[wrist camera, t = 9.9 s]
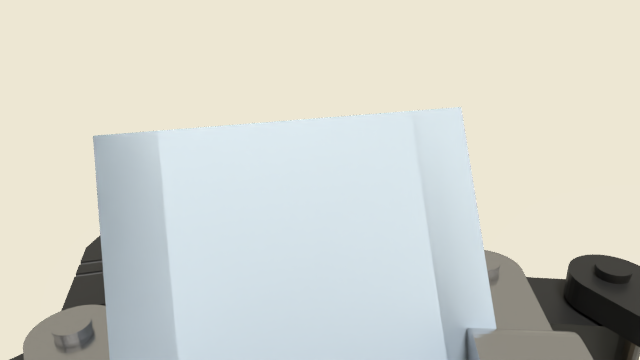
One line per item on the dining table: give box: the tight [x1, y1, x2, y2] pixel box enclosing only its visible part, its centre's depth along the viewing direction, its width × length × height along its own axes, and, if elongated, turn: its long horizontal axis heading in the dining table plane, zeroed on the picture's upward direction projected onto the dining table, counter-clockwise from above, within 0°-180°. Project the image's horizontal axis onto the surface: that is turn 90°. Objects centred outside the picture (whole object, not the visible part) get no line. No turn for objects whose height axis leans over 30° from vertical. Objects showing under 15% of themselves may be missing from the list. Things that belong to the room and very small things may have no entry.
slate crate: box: [93, 107, 497, 360], centre depth 19 cm, size 26×4×5 cm, turn 11°
